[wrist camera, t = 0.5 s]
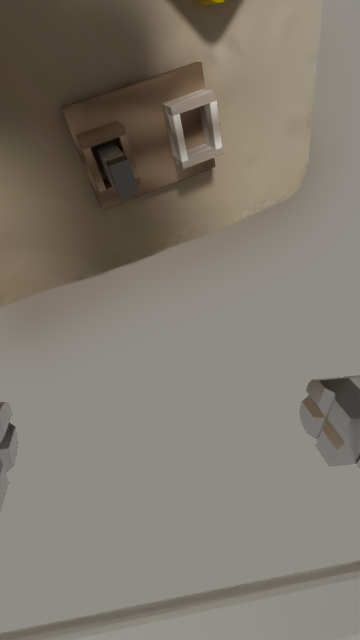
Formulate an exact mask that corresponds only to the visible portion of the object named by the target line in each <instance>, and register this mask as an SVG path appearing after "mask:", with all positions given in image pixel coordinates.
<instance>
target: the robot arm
mask: <svg viewBox="0 0 360 640" xmlns="http://www.w3.org/2000/svg"><path fill="white" fill-rule="evenodd" d="M306 391H307V393H308V395H309V396H307V398H305V399H304V400H303V401H302V403H301V407H300V419H301V422H302V425H303V427H304V429H305V430H306V432H307V433H308V434H309V435H311V436H312V437H314V438H315V439H317V440H316V447H317V449H318V450H319V452H320V453H321V455H322V456H323V457H324V459H325V461H326V462H327V464H328V465H329V466H338V465H347V464H357V466H358V467H360V375H357V376H346V377H337V378H325V379H313V380H311V381H310V382H309V383H308V386H307V389H306ZM11 415H12V412H11V409H10V406H9V404H8V403H6V402H1V403H0V510H1V508H2V504H3V500H4V497H5V494H6V490H7V487H8V484H9V482H8V479H7V475H6V472H8V471H9V470H10V469H11V468H12V467H13V465H14V462H15V458H16V454H17V444H18V441H17V432H16V427H15V426H14V425H12V424H11V423H9V421H10V418H11ZM0 640H360V560H359V561H354V562H349V563H344V564H340V565H335V566H329V567H324V568H319V569H315V570H310V571H305V572H300V573H295V574H290V575H285V576H280V577H275V578H270V579H265V580H260V581H255V582H250V583H245V584H241V585H236V586H230V587H225V588H221V589H216V590H211V591H206V592H201V593H196V594H191V595H186V596H181V597H176V598H171V599H167V600H161V601H156V602H151V603H146V604H142V605H137V606H131V607H127V608H122V609H117V610H112V611H107V612H102V613H97V614H92V615H87V616H82V617H77V618H73V619H67V620H63V621H58V622H53V623H48V624H43V625H38V626H33V627H28V628H23V629H18V630H13V631H8V632H3V633H0Z"/></svg>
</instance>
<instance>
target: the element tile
mask: <svg viewBox="0 0 360 640" xmlns="http://www.w3.org/2000/svg"><path fill="white" fill-rule="evenodd" d="M197 1H198V2H199V3H200V4H203V5H205V6H206V5H212V4H217V3H223V2H224V1H225V0H197Z"/></svg>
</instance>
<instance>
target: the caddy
mask: <svg viewBox="0 0 360 640" xmlns="http://www.w3.org/2000/svg"><path fill="white" fill-rule="evenodd" d="M61 111H62V113H63V115H64V118H65V120H66V123H67V125H68V128H69V130H70V133H71V135H72V137H73V140H74V142H75V145H76V147H77V150H78V152H79V154H80V157H81V159H82V162H83V164H84V167H85V169H86V172H87V174H88V176H89V179H90V181H91V184H92V186H93V189H94V191H95V193H96V196H97V198H98V201H99V203H100V206H101V208H102V210H103V209H106V208H108V207H111V206H114V205H116V204H119V203H122V202H124V201H127V200H129V199H132V198H135V197H137V196H140V195H143V194H145V193H148V192H150V191H153V190H156V189H158V188H161V187H164V186H166V185H169V184H171V183H174V182H177V181H179V180H182V179H185V178H187V177H190V176H192V175H195V174H198V173H200V172H203V171H206V170H208V169H211V168H213V167H215V160H214V157H217V156H220V155H222V154H223V153H222V144H221V136H220V127H219V118H218V109H217V101H216V92H213V91H210V90H206V89H205V85H204V77H203V70H202V62H195V63H192V64H189V65H186V66H183V67H180V68H177V69H174V70H171V71H168V72H165V73H162V74H159V75H156V76H154V77H151V78H148V79H145V80H142V81H139V82H136V83H133V84H130V85H127V86H124V87H121V88H118V89H115V90H112V91H109V92H106V93H103V94H100V95H97V96H94V97H91V98H88V99H85V100H82V101H79V102H76V103H74V104H71V105H68V106H65V107H62V108H61ZM110 140H111V141H112V142H113V143H114V144H115V145H116V146H117V147H118V148H119V149H120V150H121V151H122V152H123V154H124V155H125V156H126V157H127V158H128V159H129V162H130V165H131V168H132V171H133V174H134V178H135V181H136V184H137V187H138V190H139V192H137V193H135V194H132V195H129V196H127V197H124V198H121V199H120V197H119V196H118V194H117V193H116V191H115V190H114V188H113V187H112V185H111V184H110V182H109V180H108V179H107V177H106V176H105V174H104V172H103V170H102V167H101V164H100V162H99V159H98V156H97V154H96V151H95V148H94V146H96V145H98V144H101V143H104V142H107V141H110Z"/></svg>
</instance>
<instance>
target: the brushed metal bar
mask: <svg viewBox="0 0 360 640" xmlns="http://www.w3.org/2000/svg"><path fill="white" fill-rule="evenodd" d="M94 148H95V151H96V154H97V156H98V159H99V162H100V164H101V167H102V170H103V172H104V174H105V176H106V177H107V179H108V180H109V182H110V184H111V185H112V187H113V188H114V190H115V191H116V193H117V194H118V196H119V197H120V199H121V198H124V197H127V196H129V195H132V194H135V193H137V192H139V190H138V187H137V184H136V181H135V178H134V174H133V171H132V168H131V165H130V162H129V159H128V158H127V157H126V156H125V155H124V154H123V152H122V151H121V150H120V149H119V148H118V147H117V146H116V145H115V144H114V143H113V142H112V141H111V140H110V141H107V142H104V143H101V144H98V145H96V146H94Z"/></svg>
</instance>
